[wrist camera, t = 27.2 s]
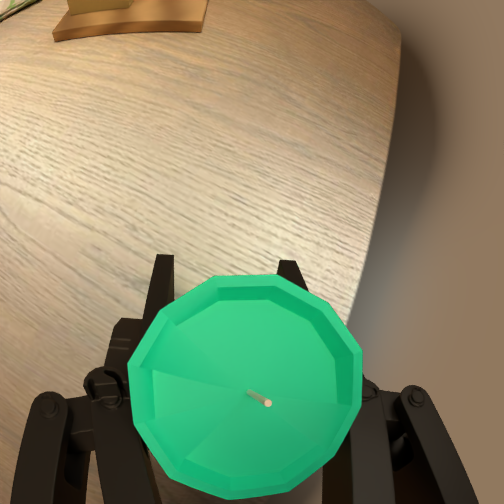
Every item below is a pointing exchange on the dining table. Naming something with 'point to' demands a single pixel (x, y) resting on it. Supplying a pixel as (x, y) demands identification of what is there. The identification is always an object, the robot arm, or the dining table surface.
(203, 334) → the candle
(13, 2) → the dish towel
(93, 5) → the butter block
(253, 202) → the dining table surface
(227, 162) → the dining table surface
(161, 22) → the butter board
